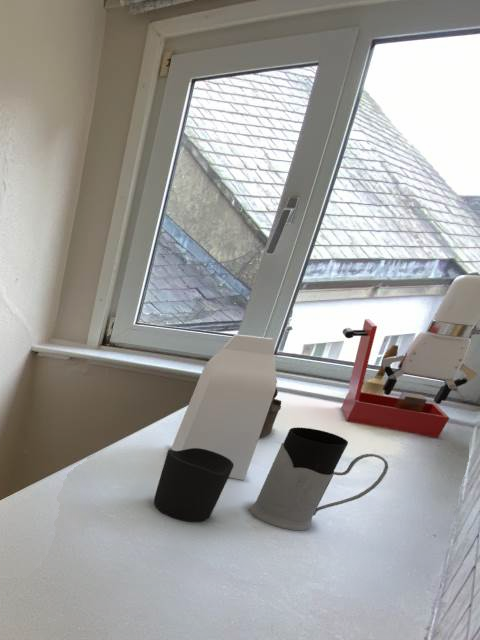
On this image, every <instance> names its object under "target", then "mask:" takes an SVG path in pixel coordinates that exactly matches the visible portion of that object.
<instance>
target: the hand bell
mask: <svg viewBox="0 0 480 640" xmlns="http://www.w3.org/2000/svg"><path fill="white" fill-rule="evenodd" d="M398 351H399V345H396V344H392V346H390V348H388V350H386V352H385V353H384V354H383V357H382V359H381V364H380V367H379V369H378V371H377V372H376V374H375V376H374V377H373V378H369V379H368V378H367V379H366V380H365V381H364V382H363V385H362V389H361V392H365V393H371V394H377V395H383V396H385V393H384V390H383V387H384V385H385V383H386V381H384V380H383V378H384V377H385V374H386V372H385V371H384V369H383V362H382V360H383V359H384V358H389V357H394V356H398ZM392 364H393V363H391V364H390V366H391V365H392Z"/></svg>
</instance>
